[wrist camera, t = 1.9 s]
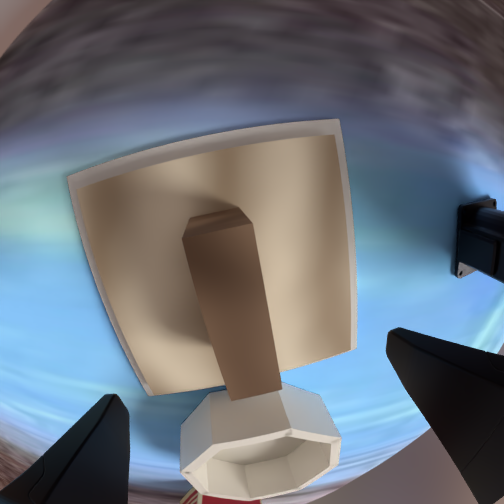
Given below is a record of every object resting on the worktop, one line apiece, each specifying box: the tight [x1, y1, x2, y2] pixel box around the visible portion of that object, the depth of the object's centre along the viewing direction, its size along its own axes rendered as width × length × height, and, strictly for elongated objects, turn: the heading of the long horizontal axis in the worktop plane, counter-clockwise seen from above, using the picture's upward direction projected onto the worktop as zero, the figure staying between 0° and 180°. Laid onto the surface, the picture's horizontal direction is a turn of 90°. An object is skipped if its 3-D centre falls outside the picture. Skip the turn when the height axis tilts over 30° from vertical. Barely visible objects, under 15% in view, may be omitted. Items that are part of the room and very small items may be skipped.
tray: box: [67, 119, 357, 396], centre depth 16 cm, size 16×16×1 cm
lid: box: [76, 134, 351, 401], centre depth 13 cm, size 14×14×6 cm
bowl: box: [180, 382, 341, 501], centre depth 18 cm, size 12×12×5 cm
